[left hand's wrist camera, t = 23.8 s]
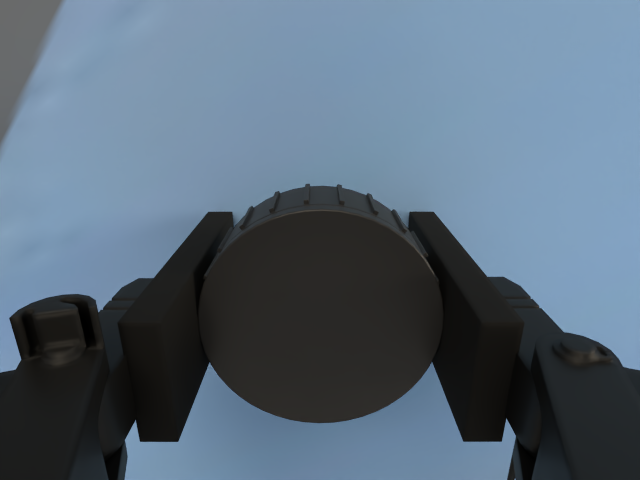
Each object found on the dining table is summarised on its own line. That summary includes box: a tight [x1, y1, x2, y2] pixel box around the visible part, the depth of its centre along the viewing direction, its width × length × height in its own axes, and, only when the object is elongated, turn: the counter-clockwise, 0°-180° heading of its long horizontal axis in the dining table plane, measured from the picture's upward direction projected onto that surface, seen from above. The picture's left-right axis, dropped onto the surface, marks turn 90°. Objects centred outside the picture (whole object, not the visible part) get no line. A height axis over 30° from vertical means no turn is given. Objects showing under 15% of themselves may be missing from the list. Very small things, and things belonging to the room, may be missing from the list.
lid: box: [198, 184, 444, 423], centre depth 11 cm, size 6×6×2 cm
